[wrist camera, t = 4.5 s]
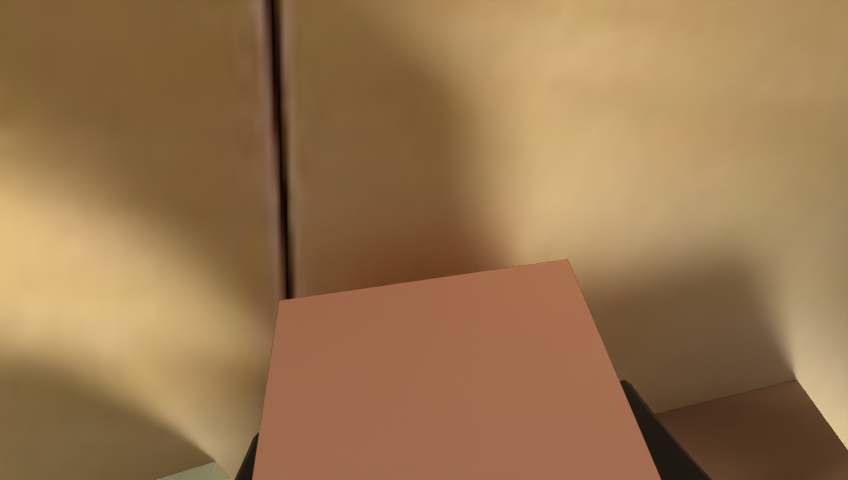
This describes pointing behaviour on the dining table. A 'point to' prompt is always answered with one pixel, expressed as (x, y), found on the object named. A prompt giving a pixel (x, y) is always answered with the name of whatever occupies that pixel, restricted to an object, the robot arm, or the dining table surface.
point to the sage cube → (200, 473)
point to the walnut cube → (760, 436)
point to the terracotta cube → (448, 384)
